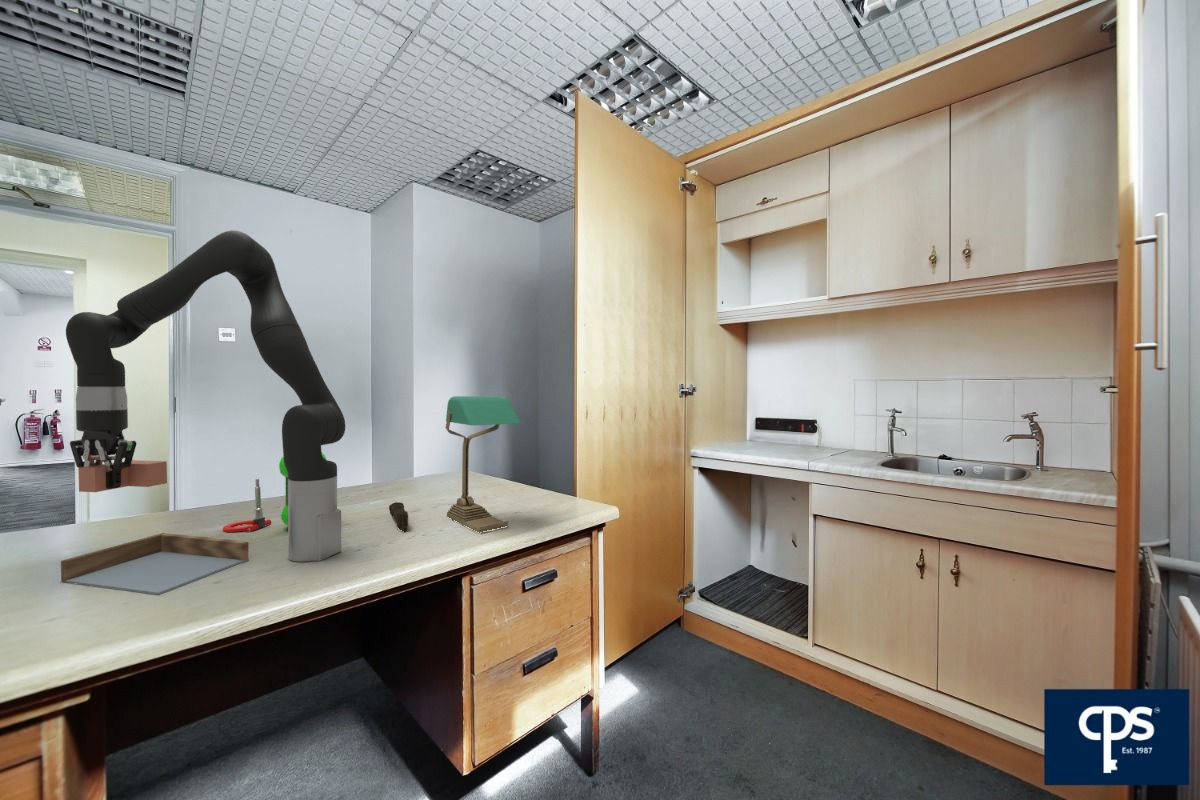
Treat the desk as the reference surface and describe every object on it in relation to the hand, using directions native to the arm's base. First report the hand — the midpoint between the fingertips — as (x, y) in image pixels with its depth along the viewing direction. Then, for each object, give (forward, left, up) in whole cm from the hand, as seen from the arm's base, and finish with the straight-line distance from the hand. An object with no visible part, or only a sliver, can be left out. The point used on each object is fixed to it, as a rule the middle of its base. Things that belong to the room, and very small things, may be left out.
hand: (104, 487), depth 99 cm
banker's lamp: (-66, -42, -15) cm, 80 cm away
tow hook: (-10, -23, -15) cm, 29 cm away
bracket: (-2, -2, 0) cm, 3 cm away
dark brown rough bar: (-46, -37, -15) cm, 61 cm away
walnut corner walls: (-20, +3, -15) cm, 25 cm away
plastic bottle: (-24, -27, -15) cm, 39 cm away
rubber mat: (-20, +3, -15) cm, 25 cm away
